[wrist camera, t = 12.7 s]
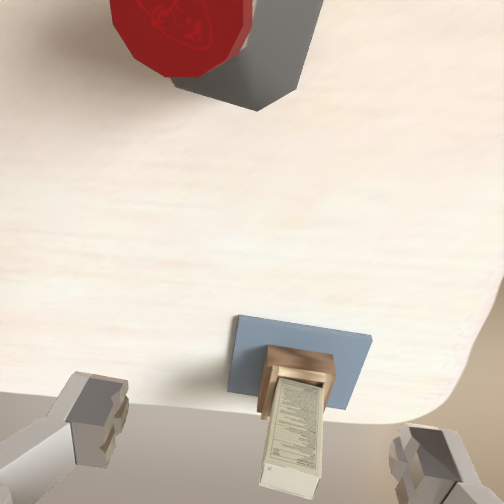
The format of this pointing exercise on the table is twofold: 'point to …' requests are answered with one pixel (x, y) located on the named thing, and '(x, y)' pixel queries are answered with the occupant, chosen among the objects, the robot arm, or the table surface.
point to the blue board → (299, 337)
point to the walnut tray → (294, 373)
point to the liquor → (221, 44)
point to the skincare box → (294, 439)
